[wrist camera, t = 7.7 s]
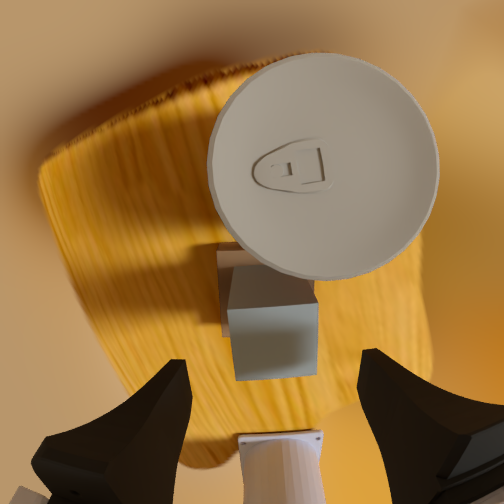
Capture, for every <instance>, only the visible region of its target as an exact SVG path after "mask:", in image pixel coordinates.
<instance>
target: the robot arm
mask: <svg viewBox="0 0 504 504" xmlns="http://www.w3.org/2000/svg"><path fill="white" fill-rule="evenodd" d="M357 391H358V395H359V399H360V402H361V405H362V409H363V411H364V413H365V416H366V418H367V420H368V423H369V425H370V427H371V430H372V432H373V434H374V436H375V439H376V441H377V444H378V446H379V449H380V452H381V455H382V458H383V462H384V466H385V470H386V473H387V477H388V482H389V487H390V492H391V498H392V504H504V405H497V404H489V403H484V402H480V401H475V400H471V399H468V398H464V397H461V396H458V395H456V394H452V393H450V392H448V391H445V390H443V389H441V388H439V387H437V386H434V385H432V384H431V383H429V382H427V381H425V380H423V379H422V378H420V377H418V376H417V375H415V374H413V373H412V372H410V371H409V370H407V369H406V368H404V367H403V366H401V365H400V364H398V363H397V362H396V361H394V360H393V359H391V358H390V357H389V356H387V355H386V354H384V353H383V352H381V351H380V350H378V349H377V348H374V349H366V350H363V351H362V358H361V364H360V371H359V377H358V383H357ZM192 398H193V396H192V391H191V386H190V381H189V376H188V371H187V366H186V361H185V360H182V359H171V360H170V361H169V362H168V363H167V364H166V365H165V366H164V367H163V368H162V369H161V370H160V371H159V372H158V373H157V374H156V375H155V376H154V377H153V378H151V379H150V380H149V381H148V382H147V383H146V384H145V385H144V386H143V387H142V388H141V389H139V390H138V391H137V392H136V393H135V394H134V395H132V396H131V397H130V398H129V399H127V400H126V401H125V402H123V403H122V404H121V405H119V406H118V407H116V408H115V409H113V410H111V411H110V412H108V413H106V414H104V415H103V416H101V417H99V418H97V419H95V420H93V421H91V422H89V423H87V424H85V425H82V426H80V427H77V428H75V429H72V430H69V431H66V432H62V433H59V434H55V435H51V436H47V437H46V438H45V439H44V440H43V442H42V444H41V445H40V447H39V448H38V450H37V452H36V453H35V455H34V456H33V458H32V460H31V465H32V467H33V470H34V472H35V473H36V475H37V476H38V477H39V478H40V480H41V481H42V482H43V483H44V485H46V487H47V488H48V489H49V491H50V492H51V493H52V495H51V497H50V499H48V498H46V497H45V496H43V495H41V494H39V493H36V492H34V491H32V490H30V489H27V488H25V487H23V486H19V487H18V489H17V491H16V493H15V494H14V496H13V498H12V500H11V501H10V503H9V504H173V494H174V485H175V477H176V469H177V464H178V459H179V455H180V452H181V448H182V445H183V441H184V437H185V434H186V430H187V427H188V423H189V419H190V414H191V406H192ZM323 436H324V434H323V431H322V430H311V431H301V432H289V433H273V434H248V435H240V436H238V445H239V453H240V461H241V468H242V475H243V482H244V501H243V504H326V500H325V495H324V490H323V484H322V479H321V474H320V469H319V460H320V454H321V448H322V442H323ZM317 437H318V438H317Z"/></svg>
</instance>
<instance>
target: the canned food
mask: <svg viewBox="0 0 504 504" xmlns="http://www.w3.org/2000/svg"><path fill="white" fill-rule="evenodd" d="M207 172H208V184H209V189H210V192H211V195H212V199H213V202H214V205H215V208H216V211H217V212H218V214H219V216H220V218H221V220H222V221H223V223H224V225H225V227H226V229H227V230H228V231H229V233H230V234H231V235H232V236H233V237H234V238H235V240H236V241H237V242H238V243H239V244H240V245H241V247H242V248H243V249H245V250H246V251H247V252H249V253H250V254H251V255H252V256H254V257H255V258H256V259H257V260H259V261H260V262H261V263H263V264H265V265H267V266H269V267H271V268H273V269H275V270H277V271H279V272H281V273H284V274H288V275H291V276H295V277H298V278H302V279H309V280H321V281H331V280H341V279H349V278H352V277H356V276H359V275H363V274H366V273H369V272H371V271H373V270H375V269H377V268H379V267H381V266H383V265H385V264H387V263H389V262H390V261H391V260H392V259H394V258H395V257H396V256H398V255H399V254H400V253H401V252H403V251H404V250H405V249H406V248H407V247H408V246H409V245H410V243H411V242H412V241H413V240H414V239H415V238H416V237H417V235H418V234H419V233H420V231H421V229H422V228H423V226H424V224H425V223H426V221H427V219H428V218H429V216H430V213H431V210H432V207H433V205H434V202H435V199H436V195H437V189H438V183H439V176H440V174H439V153H438V149H437V145H436V140H435V135H434V132H433V130H432V128H431V125H430V123H429V121H428V118H427V116H426V114H425V113H424V111H423V110H422V108H421V107H420V105H419V103H418V102H417V101H416V99H415V98H414V96H413V95H412V94H411V93H410V92H409V91H408V90H407V89H406V88H405V87H404V86H403V85H402V84H401V83H400V82H399V81H398V80H396V79H395V78H394V77H392V76H391V75H389V74H388V73H386V72H385V71H383V70H382V69H381V68H379V67H377V66H374V65H372V64H370V63H368V62H365V61H363V60H361V59H358V58H354V57H350V56H345V55H341V54H336V53H309V54H303V55H297V56H292V57H288V58H285V59H283V60H280V61H278V62H275V63H273V64H270V65H268V66H266V67H264V68H263V69H261V70H260V71H258V72H257V73H255V74H254V75H252V76H251V77H249V78H248V79H247V80H246V81H245V82H244V83H243V84H242V85H241V86H240V87H239V88H238V89H237V90H236V91H235V92H234V93H233V94H232V95H231V96H230V98H229V99H228V101H227V102H226V104H225V106H224V107H223V109H222V110H221V112H220V114H219V115H218V117H217V120H216V123H215V125H214V128H213V131H212V134H211V137H210V141H209V148H208V156H207Z"/></svg>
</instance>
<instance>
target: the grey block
mask: <svg viewBox="0 0 504 504" xmlns="http://www.w3.org/2000/svg"><path fill="white" fill-rule="evenodd" d="M227 314H228V322H229V330H230V339H231V347H232V355H233V363H234V370H235V378H236V381H247V380H264V379H278V378H289V377H300V376H310V375H317V351H318V301H317V299H316V297H315V294H314V292H313V290H312V288H311V286H310V284H309V281H308V279H302V278H298V277H295V276H291V275H288V274H284V273H281V272H279V271H277V270H275V269H273V268H271V267H269V266H267V265H253V266H238V267H234V270H233V276H232V283H231V289H230V295H229V301H228V307H227Z"/></svg>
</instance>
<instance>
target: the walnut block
mask: <svg viewBox="0 0 504 504" xmlns="http://www.w3.org/2000/svg"><path fill="white" fill-rule="evenodd" d="M253 265H265V264H263V263H261V262H260V261H259V260H257V259H256V258H255V257H254V256H252V255H251V254H250V253H249V252H247V251H246V250H245V249H243V248H242V247H241V245H240V244H239V243H238V242H222V243H220V244H219V246H218V249H217V267H218V283H219V298H220V313H221V326H222V337H230V330H229V322H228V314H227V307H228V301H229V295H230V289H231V283H232V276H233V270H234V267H238V266H253ZM308 281H309V284H310V286H311V288H312V290H313V292H314V280H309V279H308Z"/></svg>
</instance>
